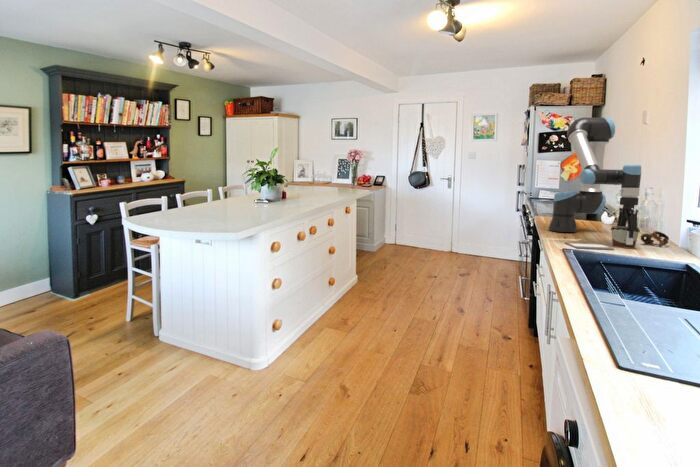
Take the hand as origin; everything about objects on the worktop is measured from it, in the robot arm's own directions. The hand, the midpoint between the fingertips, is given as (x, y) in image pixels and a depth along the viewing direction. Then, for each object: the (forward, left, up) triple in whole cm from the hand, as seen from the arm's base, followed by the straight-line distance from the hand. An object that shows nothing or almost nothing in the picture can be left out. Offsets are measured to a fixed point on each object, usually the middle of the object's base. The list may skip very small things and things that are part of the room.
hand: (625, 243), depth 210 cm
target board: (+4, -18, -2) cm, 18 cm away
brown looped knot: (-12, +16, -3) cm, 20 cm away
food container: (0, 0, -2) cm, 2 cm away
